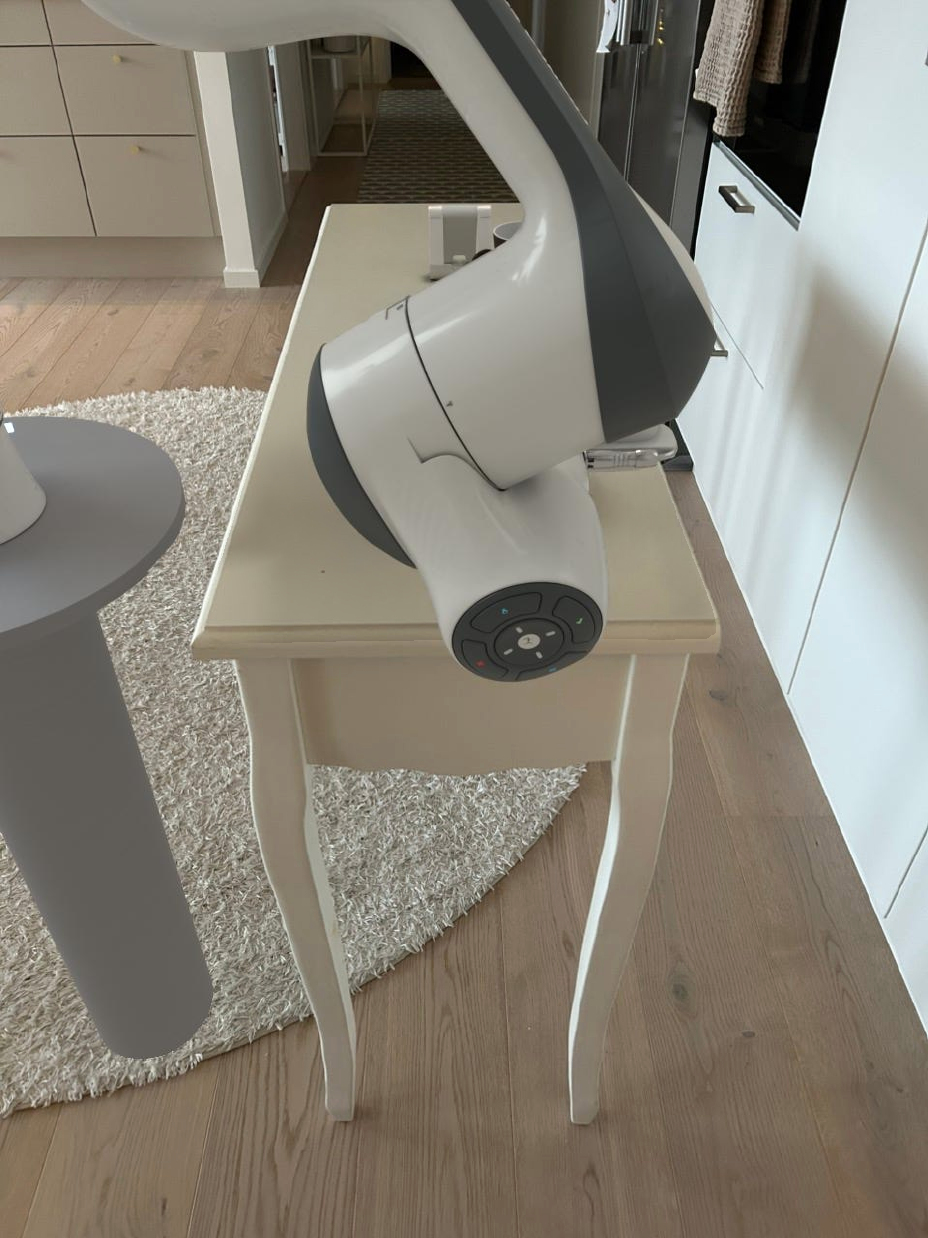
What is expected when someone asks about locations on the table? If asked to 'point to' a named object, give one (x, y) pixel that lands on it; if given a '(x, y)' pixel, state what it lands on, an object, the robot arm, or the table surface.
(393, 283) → the table surface
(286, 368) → the table surface
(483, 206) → the tablet stand
